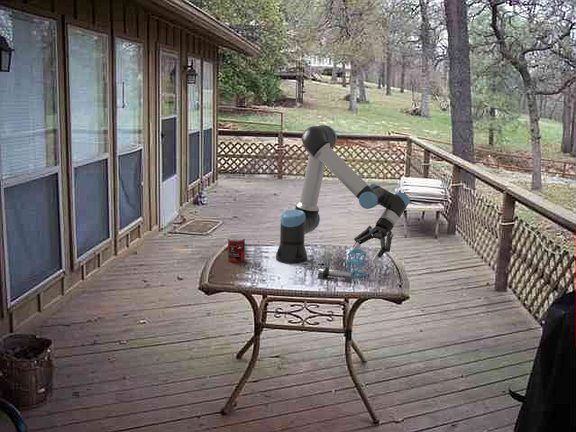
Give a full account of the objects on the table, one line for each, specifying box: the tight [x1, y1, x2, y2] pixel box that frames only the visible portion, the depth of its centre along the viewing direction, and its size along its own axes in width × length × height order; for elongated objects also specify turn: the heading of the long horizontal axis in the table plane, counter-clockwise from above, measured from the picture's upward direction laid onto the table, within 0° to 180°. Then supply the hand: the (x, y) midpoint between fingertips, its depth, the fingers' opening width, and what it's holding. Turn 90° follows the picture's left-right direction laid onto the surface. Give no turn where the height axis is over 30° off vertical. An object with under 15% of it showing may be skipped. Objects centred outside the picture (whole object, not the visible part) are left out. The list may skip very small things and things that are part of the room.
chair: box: [346, 248, 369, 280], centre depth 277 cm, size 8×8×12 cm
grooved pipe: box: [317, 266, 353, 283], centre depth 272 cm, size 14×5×5 cm, turn 74°
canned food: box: [227, 235, 246, 263], centre depth 294 cm, size 8×8×11 cm
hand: (362, 258), depth 277 cm, fingers open, 13 cm apart
